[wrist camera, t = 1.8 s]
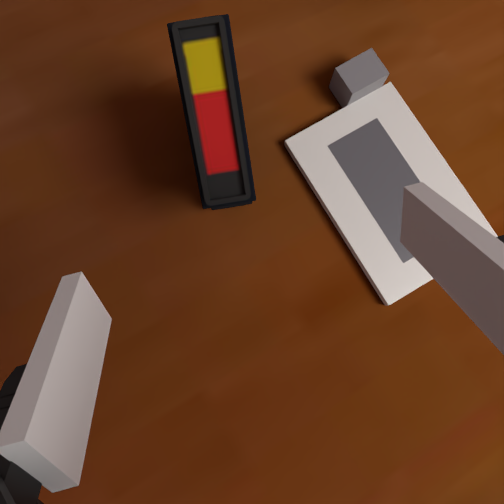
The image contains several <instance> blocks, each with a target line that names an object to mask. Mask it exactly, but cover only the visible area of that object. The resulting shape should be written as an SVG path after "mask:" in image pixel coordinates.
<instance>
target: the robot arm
mask: <svg viewBox="0 0 504 504" xmlns="http://www.w3.org/2000/svg"><path fill="white" fill-rule="evenodd" d="M400 242H401V243H402V244H403V246H404V247H405V248H406V249H407V250H408V251H409V252H410V253H411V254H412V255H413V256H414V258H415V259H416V260H417V261H418V262H419V263H420V264H421V265H422V266H423V267H424V268H425V270H426V271H427V272H428V273H429V274H430V275H431V276H432V277H433V278H434V279H435V280H436V282H437V283H438V284H439V285H440V286H441V287H442V288H443V289H444V290H445V291H446V292H447V294H448V295H449V296H450V297H451V298H452V299H453V300H454V301H455V302H456V303H457V304H458V306H459V307H460V308H461V309H462V310H463V311H464V312H465V313H466V314H467V315H468V316H469V318H470V319H471V320H472V321H473V322H474V323H475V324H476V325H477V326H478V327H479V328H480V330H481V331H482V332H483V333H484V334H485V335H486V336H487V337H488V338H489V339H490V340H491V342H492V343H493V344H494V345H495V346H496V347H497V348H498V349H499V350H500V351H501V352H502V354H503V355H504V235H502V236H498V237H495V236H494V235H492V234H491V233H490V232H488V231H487V230H486V229H484V228H483V227H482V226H480V225H479V224H478V223H476V222H475V221H474V220H472V219H471V218H470V217H468V216H467V215H466V214H464V213H463V212H462V211H460V210H459V209H458V208H456V207H455V206H454V205H452V204H451V203H450V202H448V201H447V200H446V199H444V198H443V197H442V196H440V195H439V194H438V193H436V192H435V191H434V190H432V189H431V188H430V187H428V186H427V185H426V184H424V183H423V182H420V183H416V184H412V185H408V186H405V187H404V192H403V207H402V222H401V237H400ZM111 320H112V319H111V317H110V315H109V314H108V312H107V311H106V309H105V308H104V306H103V304H102V303H101V301H100V300H99V298H98V296H97V295H96V293H95V292H94V290H93V289H92V287H91V285H90V284H89V282H88V281H87V279H86V278H85V276H84V274H83V273H82V272H78V273H74V274H70V275H66V276H63V277H62V279H61V281H60V284H59V286H58V289H57V291H56V294H55V296H54V299H53V301H52V304H51V306H50V309H49V311H48V314H47V316H46V319H45V321H44V324H43V326H42V328H41V331H40V333H39V336H38V338H37V341H36V343H35V346H34V348H33V351H32V353H31V356H30V358H29V361H28V363H27V364H25V365H21V366H18V367H16V368H15V369H14V371H13V372H12V373H11V374H10V376H9V377H8V378H7V379H6V381H5V382H4V384H3V386H2V388H1V391H0V504H44V503H42V502H41V501H40V500H39V499H38V496H39V493H40V489H41V485H43V486H44V487H46V488H47V489H48V490H50V491H51V492H52V493H53V492H57V491H61V490H64V489H68V488H71V487H75V486H79V482H80V477H81V472H82V467H83V462H84V457H85V452H86V447H87V442H88V436H89V431H90V426H91V421H92V416H93V411H94V406H95V401H96V396H97V391H98V386H99V381H100V376H101V371H102V365H103V360H104V355H105V350H106V345H107V340H108V335H109V330H110V325H111Z"/></svg>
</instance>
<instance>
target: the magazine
mask: <svg viewBox="0 0 504 504" xmlns="http://www.w3.org/2000/svg"><path fill="white" fill-rule="evenodd" d="M167 27H168V32H169V37H170V42H171V47H172V53H173V58H174V63H175V68H176V73H177V78H178V83H179V88H180V94H181V99H182V104H183V109H184V114H185V119H186V124H187V129H188V135H189V140H190V145H191V150H192V155H193V160H194V165H195V170H196V176H197V181H198V186H199V191H200V196H201V201H202V206H203V209H206V208H211V209H212V210H215V209H223V208H229V207H235V206H242V205H246V204H252V201H255V200H256V196H255V189H254V182H253V176H252V169H251V162H250V155H249V149H248V142H247V135H246V128H245V122H244V115H243V108H242V102H241V95H240V88H239V81H238V75H237V68H236V61H235V55H234V48H233V41H232V34H231V28H230V21H229V15H228V14H226V15H219V16H218V15H217V16H210V17H204V18H197V19H191V20H184V21H178V22H173V23H168V24H167Z"/></svg>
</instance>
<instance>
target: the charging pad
mask: <svg viewBox="0 0 504 504" xmlns="http://www.w3.org/2000/svg"><path fill="white" fill-rule="evenodd" d="M389 74H390V73H389V72H388V71H387V69H386V68H385V66H384V65H383V63H382V62H381V61H380V59H379V58H378V56H377V55H376V53H375V52H374V50H373V49H372V48H371V49H369V50H367V51H365V52H363V53H362V54H360V55H358V56H356V57H354V58H352V59H351V60H349V61H347V62H345V63H343V64H341V65H340V66H338V67H336V68H335V70H334V73H333V76H332V79H331V82H330V85H329V89H330V90H331V92H332V93H333V95H334V96H335V98H336V99H337V101H338V102H339V104H340V105H341V107H342V109H341V110H339V111H337V112H335V113H333V114H332V115H330V116H328V117H326V118H324V119H323V120H321V121H319V122H317V123H316V124H314V125H312V126H310V127H308V128H307V129H305V130H303V131H301V132H299V133H298V134H296V135H294V136H292V137H290V138H289V139H287V140H285V143H284V146H285V147H286V149H287V151H288V152H289V154H290V155H291V157H292V159H293V160H294V162H295V163H296V165H297V166H298V168H299V170H300V171H301V173H302V174H303V176H304V178H305V179H306V181H307V182H308V184H309V186H310V187H311V189H312V190H313V192H314V194H315V195H316V197H317V198H318V200H319V201H320V203H321V205H322V206H323V208H324V209H325V211H326V213H327V214H328V216H329V217H330V219H331V221H332V222H333V224H334V225H335V227H336V229H337V230H338V232H339V233H340V235H341V237H342V238H343V240H344V241H345V243H346V244H347V246H348V248H349V249H350V251H351V252H352V254H353V256H354V257H355V259H356V260H357V262H358V264H359V265H360V267H361V268H362V270H363V272H364V273H365V275H366V276H367V278H368V279H369V281H370V283H371V284H372V286H373V287H374V289H375V291H376V292H377V294H378V295H379V297H380V299H381V300H382V302H383V303H384V305H390V304H392V303H394V302H395V301H397V300H399V299H400V298H402V297H404V296H405V295H407V294H408V293H410V292H412V291H413V290H415V289H417V288H418V287H420V286H422V285H423V284H425V283H427V282H428V281H430V280H432V279H433V277H432V276H431V275H430V274H429V273H428V272H427V271H426V270H425V268H424V267H423V266H422V265H421V264H420V263H419V262H418V261H417V260H416V259H415V258H414V256H413V255H412V254H411V253H410V252H409V251H408V250H407V249H406V248H405V247H404V246H403V244H402V243H401V242H400V237H401V222H402V207H403V192H404V187H405V186H408V185H412V184H416V183H420V182H423V183H424V184H426V185H427V186H428V187H430V188H431V189H432V190H434V191H435V192H436V193H438V194H439V195H440V196H442V197H443V198H444V199H446V200H447V201H448V202H450V203H451V204H452V205H454V206H455V207H456V208H458V209H459V210H460V211H462V212H463V213H464V214H466V215H467V216H468V217H470V218H471V219H472V220H474V221H475V222H476V223H478V224H479V225H480V226H482V227H483V228H484V229H486V230H487V231H488V232H490V233H491V234H492V235H494V236H495V237H498V236H497V234H496V233H495V232H494V230H493V229H492V227H491V226H490V224H489V223H488V222H487V220H486V219H485V217H484V216H483V214H482V213H481V211H480V210H479V209H478V207H477V206H476V204H475V203H474V201H473V200H472V198H471V197H470V196H469V194H468V193H467V191H466V190H465V188H464V187H463V185H462V184H461V183H460V181H459V180H458V178H457V177H456V175H455V174H454V172H453V171H452V170H451V168H450V167H449V165H448V164H447V162H446V161H445V159H444V158H443V157H442V155H441V154H440V152H439V151H438V149H437V148H436V146H435V145H434V144H433V142H432V141H431V139H430V138H429V136H428V135H427V134H426V132H425V131H424V129H423V128H422V126H421V125H420V123H419V122H418V121H417V119H416V118H415V116H414V115H413V113H412V112H411V110H410V109H409V108H408V106H407V105H406V103H405V102H404V100H403V99H402V97H401V96H400V95H399V93H398V92H397V90H396V89H395V87H394V86H393V84H392V83H391V82H389V83H387V84H385V85H384V86H382V85H383V84H384V82H385V80H386V79H387V77H388V75H389Z"/></svg>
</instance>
